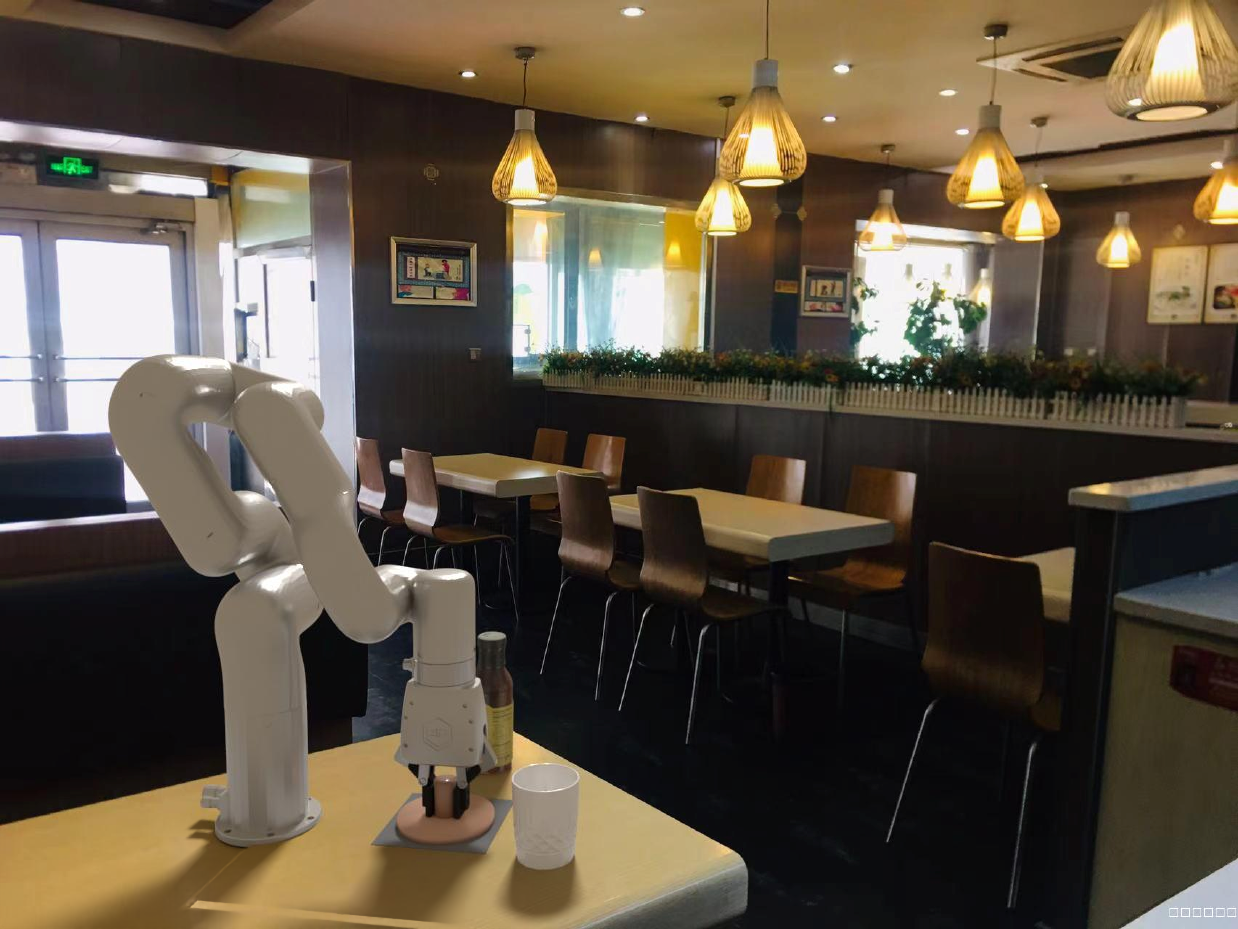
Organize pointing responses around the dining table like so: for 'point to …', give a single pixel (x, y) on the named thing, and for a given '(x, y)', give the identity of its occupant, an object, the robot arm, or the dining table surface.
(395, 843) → the mat
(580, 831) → the dining table surface
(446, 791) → the lid
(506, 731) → the sauce bottle
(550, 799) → the white cup
